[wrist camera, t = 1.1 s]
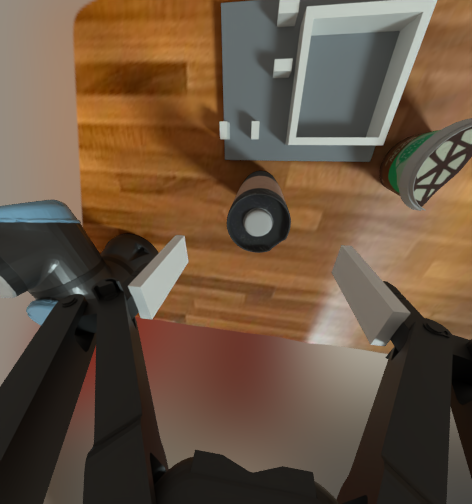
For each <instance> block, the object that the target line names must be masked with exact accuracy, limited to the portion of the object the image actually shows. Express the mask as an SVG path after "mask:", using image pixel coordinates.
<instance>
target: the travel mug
mask: <svg viewBox="0 0 472 504" xmlns="http://www.w3.org/2000/svg"><path fill="white" fill-rule="evenodd" d="M290 225H291V218H290V213H289V211H288V208H287V205H286V202H285V200H284V197H283V194H282V192H281V189H280V187H279V185H278V183H277V182H276V180H275V179H274V177H273V176H272V175H271V174H270V173H268V172H265V171H256V172H253V173H252V174H250V175H249V176H248V177H247V178H246V179H245V181H244V182H243V184H242V185H241V187H240V188H239V191H238V193H237V195H236V197H235V199H234V202H233V204H232V206H231V208H230V210H229V213H228V217H227V229H228V233H229V235H230V237H231V239H232V240H233V241H234V242H235V243H236V244H237V245H238V246H239V247H241V248H242V249H244V250H247V251H250V252H258V253H260V252H267V251H270V250H271V249H272V248H273V247H274V246H276V245H277V244H279V243H280V242H281V241H283V240H285V239H286V238H287V236H288V233H289V230H290Z"/></svg>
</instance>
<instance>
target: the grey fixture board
mask: <svg viewBox="0 0 472 504" xmlns="http://www.w3.org/2000/svg"><path fill="white" fill-rule="evenodd" d="M279 1H280V0H253V1H241V2H228V3H221V25H222V64H223V102H224V121H227V122H229V123H230V139H224V141H225V160H275V161H350V162H370V160H371V157H372V155H373V152H374V149H375V146H376V145H285V144H286V136H287V129H288V121H289V113H290V105H291V97H292V89H293V81H294V73H295V65H296V58H297V50H298V42H299V34H300V26H301V23H302V20H303V17H304V14H305V11H306V7H307V6H320V5H333V4H347V3H361V2H374V1H388V0H300V3H299V11H298V15H297V19H296V23H295V26H287V27H277V19H278V9H279ZM399 33H400V31H387V32H369V33H352V34H334V35H317V36H311V40H310V47H309V53H308V60H307V67H306V73H305V80H304V87H303V93H302V100H301V107H300V113H299V120H298V127H297V133H296V137H366V135H367V132H368V129H369V126H370V123H371V120H372V116H373V113H374V110H375V107H376V104H377V101H378V98H379V95H380V92H381V89H382V85H383V82H384V79H385V76H386V73H387V70H388V67H389V64H390V61H391V57H392V54H393V51H394V48H395V45H396V42H397V39H398V36H399ZM291 58H293V61H292V70H291V73H290V75H289V78H273V68H274V61H275V59H291ZM252 121H259V122H260V125H259V140H252V139H251V129H252Z"/></svg>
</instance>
